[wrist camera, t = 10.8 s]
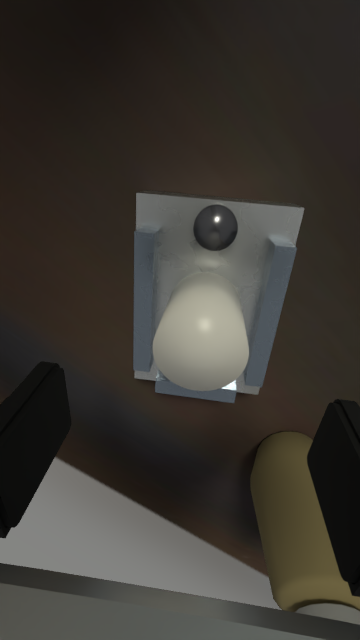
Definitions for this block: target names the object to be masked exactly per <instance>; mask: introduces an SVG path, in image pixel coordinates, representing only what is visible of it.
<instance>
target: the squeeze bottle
mask: <svg viewBox="0 0 360 640" xmlns="http://www.w3.org/2000/svg"><path fill="white" fill-rule="evenodd" d="M312 442H313V440H312V439H311V438H310V437H308V436H307V435H304V434H301V433H298V432H280V433H276V434H272V435H270V436H269V437H267V438H266V439H264V440H263V441H262V443H261V444H260V446H259V447H258V450H257V454H256V458H255V462H254V465H253V469H252V473H251V477H250V489H251V494H252V499H253V503H254V508H255V513H256V518H257V523H258V527H259V532H260V537H261V542H262V546H263V551H264V556H265V561H266V566H267V570H268V575H269V580H270V585H271V589H272V594H273V599H274V600H275V602H276V603H277V604H278V606H279V607H280V608H281V609H282V610H284V611H289V612H295V613H301V614H306V615H312V616H318V617H323V618H328V619H333V620H339V621H344V622H349V623H354V624H359V625H360V597H357V596H352V594H351V591H350V588H349V585H348V582H345V581H344V580H343V579H342V577H341V575H340V572H339V569H338V565H337V562H336V559H335V555H334V552H333V548H332V545H331V542H330V538H329V535H328V532H327V528H326V525H325V522H324V518H323V515H322V512H321V508H320V505H319V502H318V498H317V495H316V492H315V488H314V485H313V482H312V478H311V475H310V471H309V468H308V464H307V454H308V451H309V449H310V447H311V444H312Z"/></svg>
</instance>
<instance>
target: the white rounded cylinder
mask: <svg viewBox="0 0 360 640" xmlns="http://www.w3.org/2000/svg"><path fill="white" fill-rule="evenodd" d="M153 356H154V360H155V362H156V364H157V366H158V368H159V370H160V371H161V372H162V373H163V375H164V376H165V377H166V378H168V379H169V380H170V381H172V382H173V383H175V384H176V385H178V386H181V387H183V388H186V389H190V390H195V391H210V390H216V389H219V388H222V387H225V386H227V385H229V384H230V383H232V382H233V381H234V380H236V379H237V378H238V377H239V376H240V375H241V373H242V372H243V370H244V369H245V367H246V365H247V362H248V357H249V346H248V341H247V335H246V329H245V323H244V318H243V312H242V306H241V300H240V296H239V293H238V291H237V289H236V288H235V287H234V285H233V284H232V283H231V282H230V281H229V280H227V279H226V278H224V277H223V276H220V275H218V274H215V273H210V272H199V273H194V274H191V275H189V276H187V277H185V278H184V279H182V280H181V281H180V282H179V283H178V284H177V285H176V286H175V288H174V289H173V291H172V293H171V296H170V298H169V301H168V303H167V306H166V309H165V311H164V314H163V316H162V319H161V321H160V324H159V327H158V329H157V332H156V334H155V337H154V341H153Z"/></svg>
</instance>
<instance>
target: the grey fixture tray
mask: <svg viewBox="0 0 360 640" xmlns="http://www.w3.org/2000/svg"><path fill="white" fill-rule="evenodd" d="M303 212H304V208H303V207H301V206H298V205H296V204H293V203H282V202H271V201H260V200H249V199H238V198H227V197H216V196H205V195H194V194H183V193H172V192H161V191H150V190H146V191H141V192H137V193H136V231H134V355H133V370H135V378H138V379H145V380H153V381H156V384H155V392H157V393H164V394H171V395H178V396H185V397H193V398H200V399H207V400H214V401H222V402H229V403H234V401H235V396H236V392H241V393H249V394H256V395H258V393H259V389H260V387H262V385H263V381H264V377H265V373H266V369H267V365H268V361H269V357H270V353H271V349H272V345H273V341H274V337H275V333H276V329H277V325H278V321H279V317H280V313H281V310H282V306H283V302H284V298H285V294H286V290H287V286H288V282H289V278H290V274H291V270H292V266H293V262H294V258H295V254H296V250H297V247H296V246H295V244H296V240H297V236H298V232H299V228H300V224H301V220H302V216H303ZM199 272H210V273H215V274H218V275H220V276H223V277H224V278H226V279H227V280H229V281H230V282H231V283H232V284H233V285H234V287H235V288H236V289H237V291H238V293H239V296H240V300H241V306H242V312H243V318H244V323H245V329H246V335H247V341H248V346H249V357H248V362H247V365H246V367H245V369H244V370H243V372H242V373H241V375H240V376H239V377H238V378H237V379H236V380H234V381H233V382H232V383H230V384H229V385H227V386H225V387H222V388H219V389H216V390H210V391H195V390H190V389H186V388H183V387H181V386H178V385H176V384H175V383H173V382H172V381H170V380H169V379H168V378H166V377H165V376H164V375H163V373H162V372H161V371H160V370H159V368H158V366H157V364H156V362H155V360H154V356H153V341H154V337H155V334H156V332H157V329H158V327H159V324H160V321H161V319H162V316H163V314H164V311H165V309H166V306H167V303H168V301H169V298H170V296H171V293H172V291H173V289H174V288H175V286H176V285H177V284H178V283H179V282H180V281H181V280H182V279H184V278H185V277H187V276H189V275H191V274H194V273H199Z"/></svg>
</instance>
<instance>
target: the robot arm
mask: <svg viewBox="0 0 360 640" xmlns="http://www.w3.org/2000/svg"><path fill="white" fill-rule="evenodd" d="M70 426H71V417H70V410H69V403H68V397H67V390H66V383H65V376H64V370H63V369H62V368H60V367H59V365H58V364H57V363H50V362H40V363H38V365H37V366H36V367H35V368H34V369H33V370H32V371H31V373H30V374H29V375H28V376H27V377H26V378H25V379H24V381H23V382H22V383H21V384H20V385H19V386H18V387H17V389H16V390H15V391H14V392H13V393H12V394H11V395H10V396H9V397H7V398H6V399H5V400H4V401H3V402H2V403H1V405H0V538H6V536H7V534H8V532H9V531H10V529H11V527H16V526H17V525H18V523H19V522H20V520H21V518H22V516H23V515H24V513H25V511H26V509H27V507H28V505H29V503H30V502H31V500H32V498H33V496H34V494H35V492H36V490H37V489H38V487H39V485H40V483H41V481H42V479H43V478H44V476H45V474H46V472H47V470H48V469H49V467H50V465H51V463H52V461H53V459H54V457H55V456H56V454H57V452H58V450H59V448H60V446H61V445H62V443H63V441H64V439H65V437H66V435H67V434H68V432H69V429H70ZM307 464H308V468H309V471H310V475H311V478H312V482H313V485H314V488H315V492H316V495H317V498H318V502H319V505H320V508H321V512H322V515H323V518H324V522H325V525H326V528H327V532H328V535H329V538H330V542H331V545H332V548H333V552H334V555H335V559H336V562H337V565H338V569H339V572H340V575H341V577H342V579H343V580H344V581H345V582H348V585H349V588H350V591H351V594H352V596H357V597H360V407H359V405H358V404H357V403H356V402H355V401H348V400H340V399H336V400H335V401H334V402H333V403H329V405H328V407H327V409H326V411H325V414H324V416H323V418H322V421H321V423H320V426H319V428H318V430H317V433H316V435H315V437H314V440H313V442H312V444H311V447H310V449H309V451H308V454H307ZM0 640H360V625H359V624H354V623H349V622H344V621H339V620H333V619H328V618H323V617H318V616H312V615H306V614H301V613H295V612H289V611H284V610H278V609H272V608H267V607H261V606H255V605H250V604H243V603H238V602H233V601H227V600H221V599H215V598H209V597H204V596H198V595H192V594H186V593H180V592H174V591H168V590H162V589H156V588H151V587H145V586H139V585H133V584H126V583H121V582H115V581H109V580H103V579H97V578H91V577H85V576H79V575H73V574H67V573H61V572H54V571H49V570H43V569H36V568H29V567H23V566H16V565H9V564H2V563H0Z"/></svg>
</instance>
